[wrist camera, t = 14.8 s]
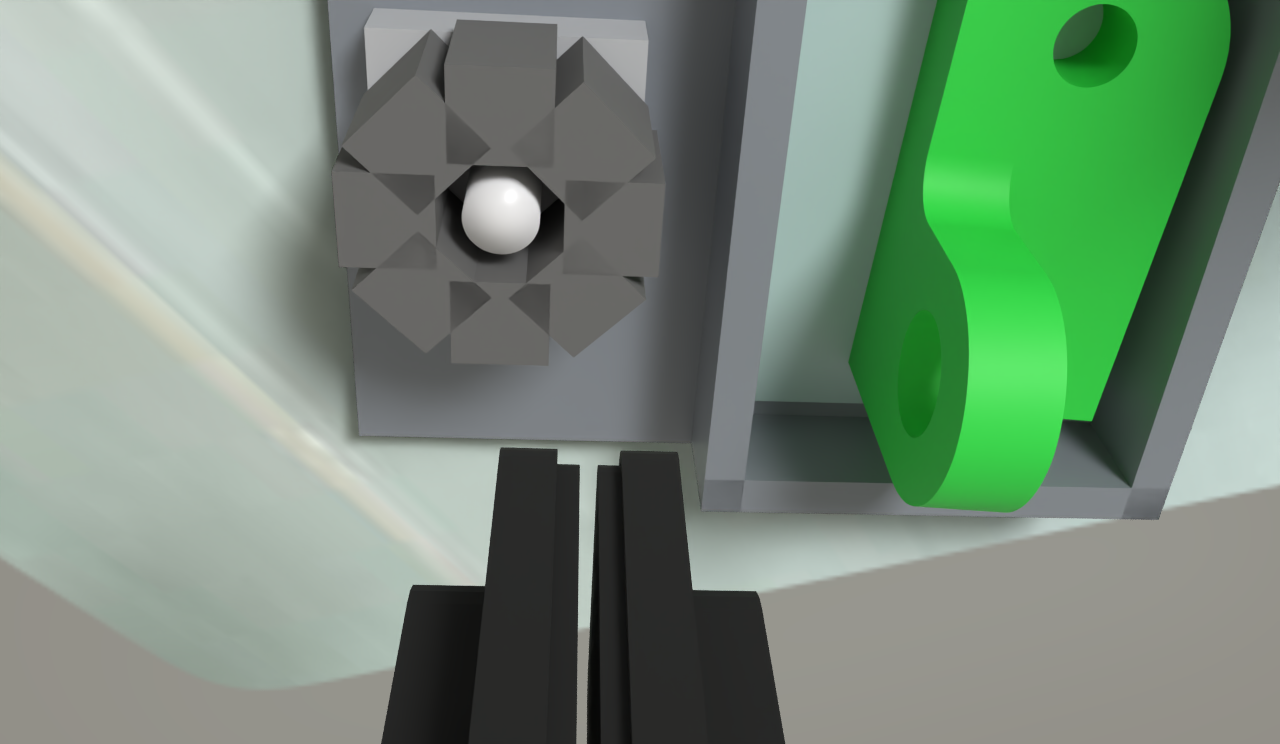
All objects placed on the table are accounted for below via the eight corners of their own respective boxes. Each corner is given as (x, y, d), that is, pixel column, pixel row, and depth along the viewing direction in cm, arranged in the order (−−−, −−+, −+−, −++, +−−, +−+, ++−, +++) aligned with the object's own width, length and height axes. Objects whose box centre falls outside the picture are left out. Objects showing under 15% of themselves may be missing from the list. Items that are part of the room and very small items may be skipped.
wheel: (664, 29, 26) (674, 74, 23) (644, 303, 29) (651, 368, 27) (348, 14, 25) (322, 58, 23) (366, 294, 29) (346, 360, 26)
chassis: (1305, -217, 26) (1456, -182, 22) (1102, 432, 35) (1179, 552, 31) (316, -280, 25) (260, -257, 20) (364, 415, 34) (332, 538, 29)
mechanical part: (1065, 379, 33) (1193, 578, 26) (848, 362, 32) (921, 561, 26) (1230, -84, 27) (1454, 19, 20) (965, -116, 26) (1103, -22, 19)
